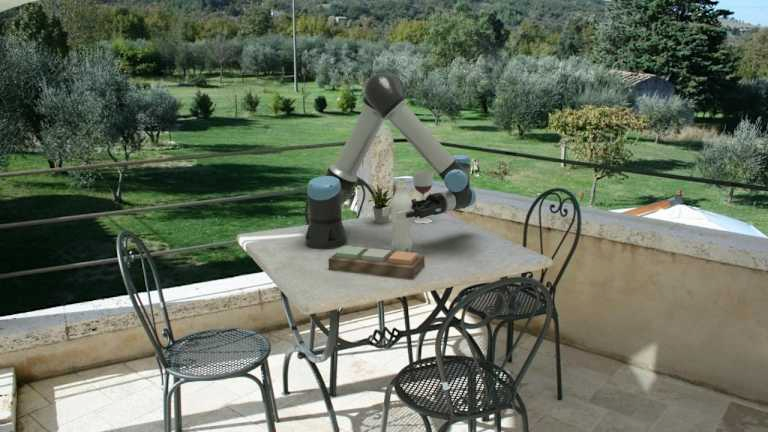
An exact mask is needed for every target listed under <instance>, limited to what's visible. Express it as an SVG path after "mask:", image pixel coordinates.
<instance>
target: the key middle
mask: <svg viewBox="0 0 768 432" xmlns="http://www.w3.org/2000/svg"><path fill="white" fill-rule="evenodd" d="M367 250H368V251H366V252H365V253H364V254H363V255H362V260H366V261H375V262H385V261H386V260H387V259H388V258H389V257H390V256H391V252H392V250H390V249H380V248H369V249H367Z"/></svg>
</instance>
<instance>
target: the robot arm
mask: <svg viewBox="0 0 768 432" xmlns="http://www.w3.org/2000/svg"><path fill="white" fill-rule="evenodd" d="M404 94H405V84H404V81H403V80H402V78H401V77H400V76H399V75H397V74H396V73H393V72H390V71H384V72H381V73H376V74H374V75H373V76H371V77H370V78H369V79H368V80H367V82H366V84H365V86H364V96H363V99H362V105H363V109H362V110H361V112H360V113H359V116H358V118H357V120H356V122H355V124H354V125H353V128H352V130H351V132H350V135H349V136H348V138H347V140H346V142H345V144H344V145H343V148H342V150H341V152H340V154H339V155H338V158H337V159H336V162H335V163H334V164H330V165H329V166H328V169H327V170H326V173H325V175H322V176H317V177H314V178H311V179H310V180H309V181H308V183H307V188H306V193H307V206H308V221H309V222H308V223H309V224H308V226H307V230H306V234H305V238H304V240H305V245H306V246H307V247H308V248H312V249H321V250H322V249H323V250H326V249H327V250H328V249H335V248H336V249H337V248H340V247H342V246H343V247H344V246H346V244H347V243H348V235H347V234H348V233H347V232H346V230H345V227H344V224H343V220H342V217H343V216H342V206H343V204H344V203H346V202H347V201H348V200H349V199H350V198H351V197H352V194H353V191H354V187H355V185H356V183H357V182H358V176H357V173H358V171H359V169H360V167H361V166H362V164H363V161H364V160H365V158H366V155H367V154H368V152H369V150H370V147H371V146H372V144H373V142H374V140H375V138H376V136H377V134H378V132H379V130H380V129H381V127H382V125H383V123H384V120H386V121H387V120H388V121H389V122H390V123H391V124H392V125H393V126H394V127H395V128H396V130H397V131H399V133H400V134H401V135H402V136H403V137H404V138H405V139H406V141H407V142H409V145H411V146H412V147H413V148H414V150H415V151H417V153H419V155H420V156H421V157H422V158H423V159H424V160H425V161H426V162H427V164H428V165H429V167H431V168H432V169H433V171H435V173H436V174H437V176H439V177H440V178H441V179H442V181H443V182H444V186H445V187H446V189H447V190H444V191H438V192H435V193H430V194H428V195H427V196H426V198H424V200H422V199H420V200H417V199H416V198H413V199H411V201H412V209H410V210H405V211H401V212H397V221H400V220H404V219H408V218H412V219H413V218H416V219H417V218H418V219H422V218H424V219H425V218H426V217H430V216H438V215H441V214H447V213H448V212H452V211H458V210H461V209H462V210H463V209H466V208H469V207H471V206H473V205H474V204H475V202H476V200H477V194H476V193H475V190H474V188H473V187H471V182H470V180H471V165H472V164H471V157H470V156H469V155H466V154H465V155H464V154H455V155H452V154H450V152H448V150H447V149H446V148H445V147H444V146H443V145H442V144H441V142H440V141H439V140H438V139H437V138H436V137H435V136H434V135H433V133H432V132H431V131H430V130H429V129H428V128H427V127H426V126H425V125H424V123H423V122H422V121H421V120H420V119H419V118H418V116H416V114H415V113H414V111H412V110H411V108H409V107H408V105H407V104H406V101H407V100H406V99H405V97H404ZM389 206H390V207H385V208H382V216H387V215H389V216H391V205H389Z"/></svg>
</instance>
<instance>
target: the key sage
mask: <svg viewBox="0 0 768 432" xmlns="http://www.w3.org/2000/svg"><path fill="white" fill-rule="evenodd" d="M365 250H366V248H365V247H361V246H350V245H343V247H342V248H339V250H337V251H336V252H335V254H336V257H338V258H347V259H356V260H357V259H358V258H360V257H361V256H362V255H363V254H364V253H365Z"/></svg>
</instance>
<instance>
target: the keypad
mask: <svg viewBox="0 0 768 432" xmlns="http://www.w3.org/2000/svg"><path fill="white" fill-rule="evenodd" d="M368 250H369V249H365V252H366V251H368ZM394 253H395V252H392V251H391V255H392V254H394ZM425 258H426V257H425V255H421V254H420V255H419V254H418V259H417V260H416V261H415V262H414V263H413V264H412V265H403V264H393V263H389V258H388V259H387V260H386V261H385V262H375V261H366V260H362V256H361V257H360V258H358V259H357V260H356V259H347V258H338V257H336V253H334V254H333V255H331V256H330V257H329V258H328V259H327V261H328V270H331V271H332V270H333V271H334V270H335V271H341V272H347V273H348V272H350V273H358V274H368V275H376V276H384V277H391V278H393V277H394V278H401V279H410V280H414V279H415V277H416V276H417V275H418V274H419V273H420V272H421V270H423V268H424V267H425V266H426V265H425V264H426V263H425Z"/></svg>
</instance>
